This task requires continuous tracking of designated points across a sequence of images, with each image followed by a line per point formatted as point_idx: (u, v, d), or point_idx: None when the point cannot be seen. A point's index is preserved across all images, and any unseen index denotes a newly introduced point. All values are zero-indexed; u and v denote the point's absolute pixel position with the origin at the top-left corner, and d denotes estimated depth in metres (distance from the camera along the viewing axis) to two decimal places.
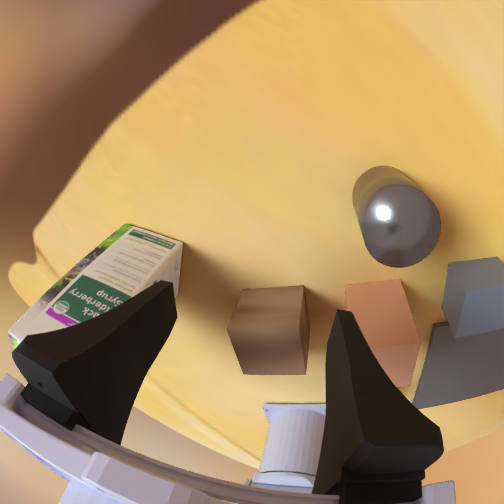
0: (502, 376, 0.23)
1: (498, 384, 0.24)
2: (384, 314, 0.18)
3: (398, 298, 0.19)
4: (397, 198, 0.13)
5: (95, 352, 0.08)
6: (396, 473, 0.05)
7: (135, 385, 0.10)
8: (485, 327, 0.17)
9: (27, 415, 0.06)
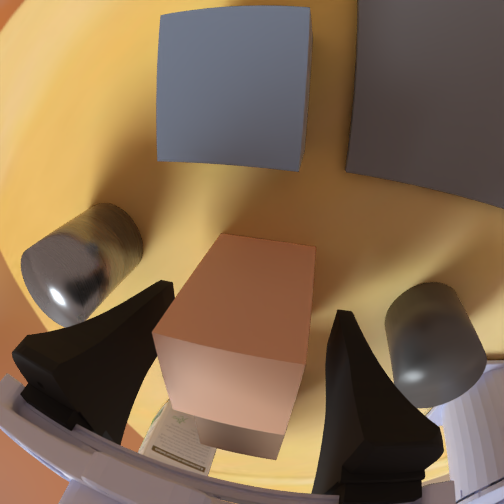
0: None
1: None
2: None
3: None
4: (30, 288, 0.12)
5: (95, 352, 0.08)
6: (396, 473, 0.05)
7: (135, 385, 0.10)
8: (286, 72, 0.07)
9: (27, 415, 0.06)
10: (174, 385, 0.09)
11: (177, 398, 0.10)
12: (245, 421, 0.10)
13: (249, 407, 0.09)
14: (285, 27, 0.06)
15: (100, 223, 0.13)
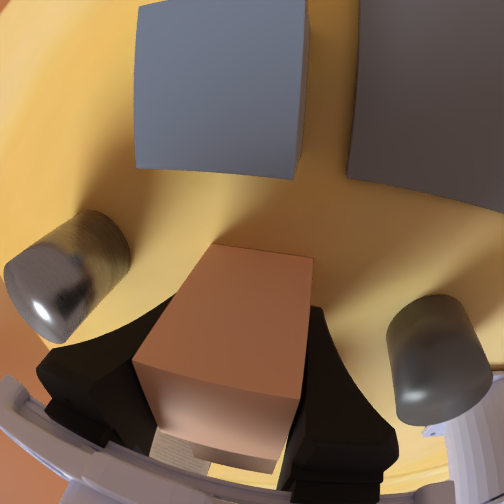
0: None
1: None
2: None
3: None
4: (14, 300, 0.11)
5: (130, 365, 0.07)
6: (351, 474, 0.06)
7: None
8: (278, 65, 0.06)
9: (27, 415, 0.06)
10: (160, 411, 0.08)
11: (164, 422, 0.09)
12: (236, 447, 0.09)
13: (240, 435, 0.08)
14: (277, 14, 0.05)
15: (84, 232, 0.12)
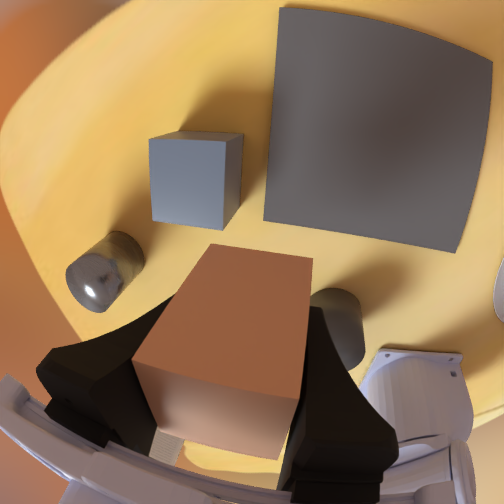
0: (450, 68, 0.12)
1: (473, 75, 0.12)
2: None
3: None
4: (71, 287, 0.20)
5: (129, 365, 0.07)
6: (351, 474, 0.06)
7: None
8: (214, 180, 0.15)
9: (27, 415, 0.06)
10: (159, 410, 0.08)
11: (164, 422, 0.09)
12: (236, 447, 0.09)
13: (239, 435, 0.08)
14: (213, 154, 0.15)
15: (118, 246, 0.22)
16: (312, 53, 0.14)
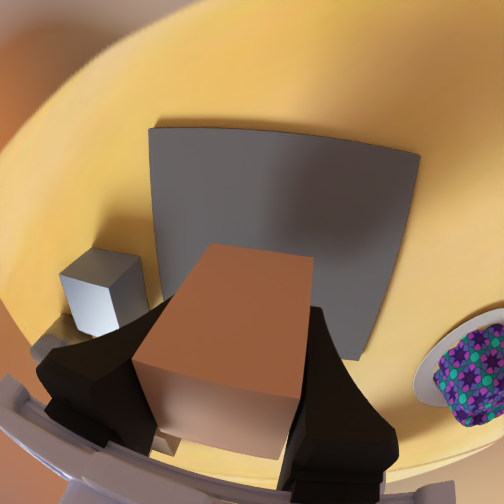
0: (351, 179, 0.14)
1: (385, 182, 0.13)
2: None
3: None
4: (36, 361, 0.22)
5: (129, 365, 0.07)
6: (351, 474, 0.06)
7: None
8: (108, 313, 0.17)
9: (27, 415, 0.06)
10: (159, 410, 0.08)
11: (164, 422, 0.09)
12: (236, 447, 0.09)
13: (240, 435, 0.08)
14: (102, 296, 0.16)
15: (66, 330, 0.23)
16: (183, 183, 0.15)
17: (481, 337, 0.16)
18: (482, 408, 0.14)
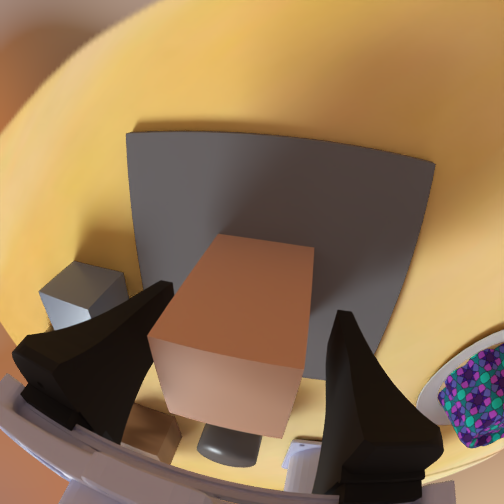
0: (356, 190, 0.12)
1: (395, 194, 0.11)
2: None
3: None
4: None
5: (95, 352, 0.08)
6: (396, 473, 0.05)
7: (135, 385, 0.10)
8: None
9: (27, 415, 0.06)
10: (170, 388, 0.09)
11: (173, 401, 0.10)
12: (242, 425, 0.09)
13: (246, 411, 0.09)
14: (82, 316, 0.14)
15: None
16: (164, 194, 0.14)
17: (492, 356, 0.14)
18: (488, 430, 0.12)
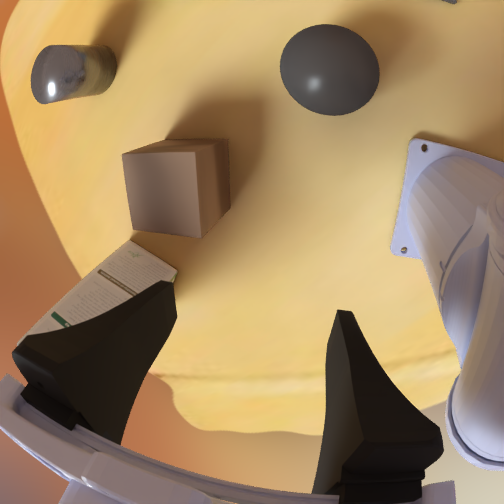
0: None
1: None
2: None
3: None
4: (33, 84, 0.14)
5: (95, 352, 0.08)
6: (396, 473, 0.05)
7: (135, 385, 0.10)
8: None
9: (27, 415, 0.06)
10: None
11: None
12: None
13: None
14: None
15: (90, 45, 0.15)
16: None
17: None
18: None
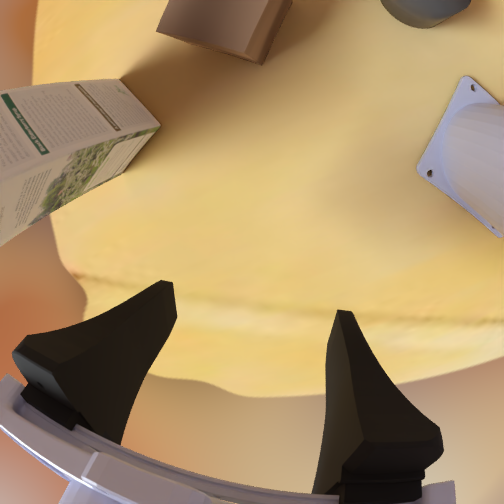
0: None
1: None
2: None
3: None
4: None
5: (95, 352, 0.08)
6: (396, 473, 0.05)
7: (135, 385, 0.10)
8: None
9: (27, 415, 0.06)
10: None
11: None
12: None
13: None
14: None
15: None
16: None
17: None
18: None
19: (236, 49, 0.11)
